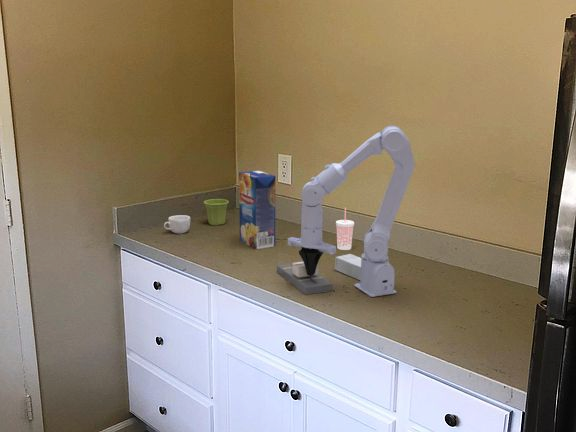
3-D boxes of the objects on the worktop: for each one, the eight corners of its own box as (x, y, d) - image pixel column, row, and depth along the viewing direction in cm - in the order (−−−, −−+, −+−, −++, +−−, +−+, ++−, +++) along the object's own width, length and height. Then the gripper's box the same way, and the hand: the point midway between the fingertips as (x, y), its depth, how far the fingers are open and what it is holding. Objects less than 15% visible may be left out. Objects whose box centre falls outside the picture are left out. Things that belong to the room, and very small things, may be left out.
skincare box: (334, 270, 182) (361, 283, 172) (334, 255, 180) (361, 268, 171) (350, 266, 185) (377, 278, 175) (351, 252, 184) (378, 264, 174)
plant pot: (201, 226, 230) (200, 203, 228) (208, 220, 239) (208, 198, 237) (225, 227, 229) (224, 204, 227) (231, 221, 238) (231, 199, 236)
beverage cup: (348, 244, 208) (350, 204, 204) (356, 249, 202) (357, 208, 199) (332, 246, 206) (333, 205, 202) (339, 251, 200) (340, 209, 197)
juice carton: (275, 246, 205) (275, 175, 199) (255, 249, 202) (255, 177, 196) (258, 237, 215) (258, 170, 209) (239, 240, 212) (238, 172, 206)
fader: (317, 274, 170) (318, 264, 170) (298, 277, 168) (298, 266, 167) (311, 270, 174) (311, 260, 173) (292, 273, 172) (292, 262, 171)
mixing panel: (332, 290, 165) (332, 283, 164) (305, 294, 162) (305, 287, 161) (301, 268, 183) (301, 261, 182) (277, 271, 180) (277, 265, 179)
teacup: (184, 228, 227) (184, 214, 226) (194, 232, 221) (194, 218, 220) (159, 232, 221) (159, 217, 220) (169, 237, 215) (168, 222, 214)
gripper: (342, 227, 163) (341, 275, 166) (298, 219, 171) (297, 265, 175) (328, 233, 158) (327, 283, 161) (283, 224, 166) (282, 272, 169)
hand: (310, 274), depth 167 cm, fingers closed
